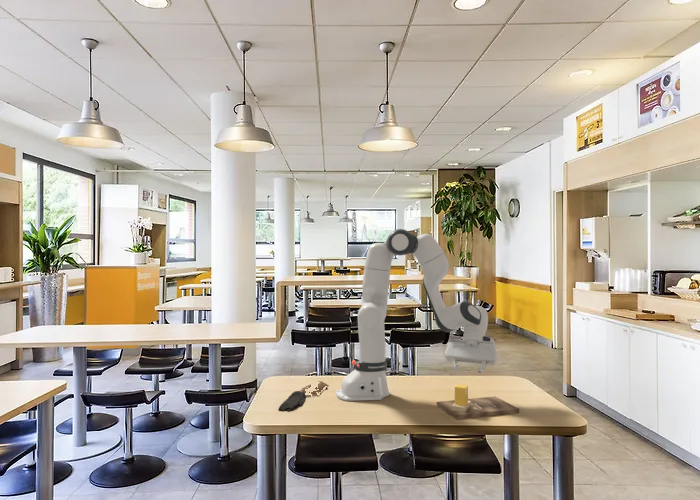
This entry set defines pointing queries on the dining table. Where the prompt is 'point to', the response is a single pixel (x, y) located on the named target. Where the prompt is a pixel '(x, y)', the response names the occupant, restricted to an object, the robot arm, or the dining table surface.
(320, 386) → the wooden fragment
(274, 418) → the dining table surface
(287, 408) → the dark grey tapered piece
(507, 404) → the walnut board
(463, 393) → the block
